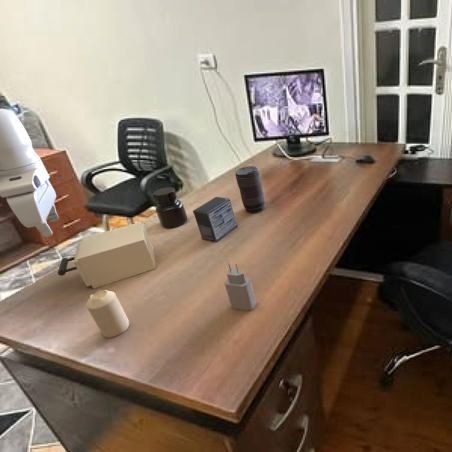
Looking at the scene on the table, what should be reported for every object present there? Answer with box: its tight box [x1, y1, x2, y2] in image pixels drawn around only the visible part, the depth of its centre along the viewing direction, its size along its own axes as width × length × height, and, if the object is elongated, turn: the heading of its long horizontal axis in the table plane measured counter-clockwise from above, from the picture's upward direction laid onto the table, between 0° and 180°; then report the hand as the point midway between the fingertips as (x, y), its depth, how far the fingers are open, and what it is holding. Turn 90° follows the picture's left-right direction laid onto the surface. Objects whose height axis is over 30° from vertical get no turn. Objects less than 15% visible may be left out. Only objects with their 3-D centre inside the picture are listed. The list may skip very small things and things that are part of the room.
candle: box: [85, 289, 130, 339], centre depth 76 cm, size 6×6×10 cm
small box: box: [192, 196, 238, 243], centre depth 111 cm, size 11×6×10 cm, turn 154°
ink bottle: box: [152, 186, 188, 229], centre depth 120 cm, size 10×9×12 cm
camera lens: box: [234, 165, 266, 214], centre depth 123 cm, size 8×8×15 cm
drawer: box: [57, 242, 91, 287], centre depth 97 cm, size 19×11×8 cm, turn 118°
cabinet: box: [77, 221, 157, 289], centre depth 98 cm, size 16×13×10 cm
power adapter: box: [223, 262, 257, 312], centre depth 79 cm, size 3×5×12 cm, turn 73°
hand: (52, 227), depth 88 cm, fingers open, 8 cm apart
